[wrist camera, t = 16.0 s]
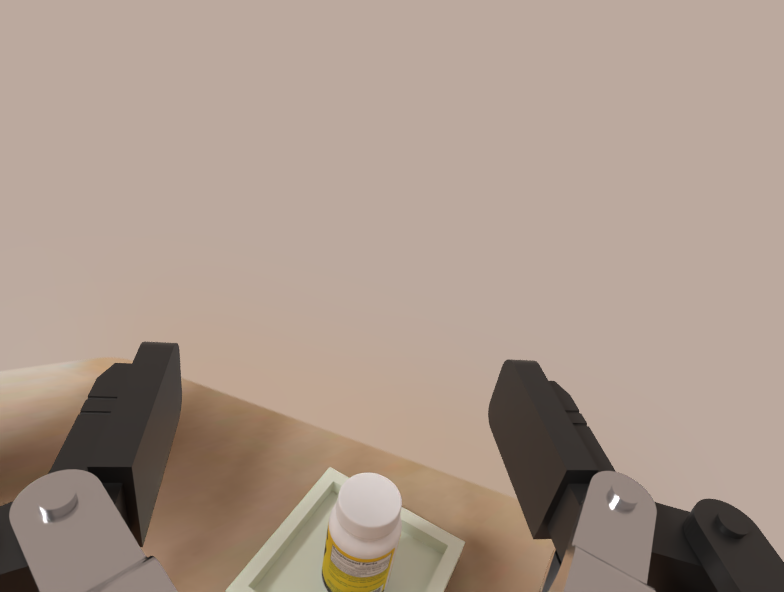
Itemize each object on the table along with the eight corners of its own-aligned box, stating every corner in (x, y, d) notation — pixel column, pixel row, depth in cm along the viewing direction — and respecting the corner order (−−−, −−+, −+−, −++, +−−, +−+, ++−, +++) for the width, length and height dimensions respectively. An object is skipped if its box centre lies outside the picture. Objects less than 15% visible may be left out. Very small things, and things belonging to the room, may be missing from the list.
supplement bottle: (344, 533, 40) (358, 454, 35) (399, 566, 38) (421, 489, 34) (306, 585, 36) (316, 505, 31) (365, 626, 34) (385, 547, 30)
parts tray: (225, 607, 35) (225, 590, 34) (327, 483, 44) (329, 466, 43) (385, 721, 31) (391, 706, 30) (459, 558, 40) (465, 542, 39)
